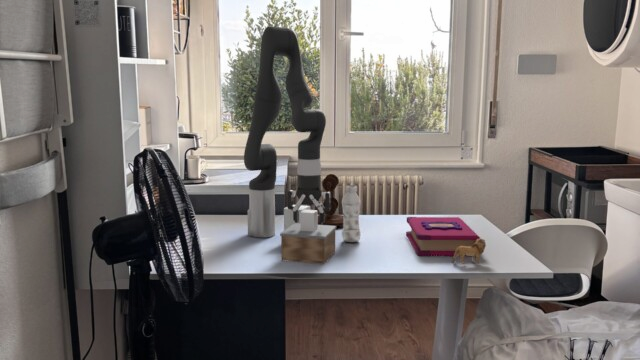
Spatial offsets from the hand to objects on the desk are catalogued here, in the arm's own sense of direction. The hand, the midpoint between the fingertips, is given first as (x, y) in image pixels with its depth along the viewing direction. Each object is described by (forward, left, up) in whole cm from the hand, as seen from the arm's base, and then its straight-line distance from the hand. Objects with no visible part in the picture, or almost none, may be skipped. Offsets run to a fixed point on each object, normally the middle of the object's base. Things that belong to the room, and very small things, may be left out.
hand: (309, 223), depth 196 cm
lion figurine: (+50, +7, -11) cm, 52 cm away
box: (0, 0, -11) cm, 11 cm away
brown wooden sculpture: (-4, +43, -11) cm, 45 cm away
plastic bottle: (+9, +21, -11) cm, 26 cm away
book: (+40, +27, -12) cm, 50 cm away
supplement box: (-9, +16, -11) cm, 22 cm away
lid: (0, 0, -3) cm, 3 cm away
